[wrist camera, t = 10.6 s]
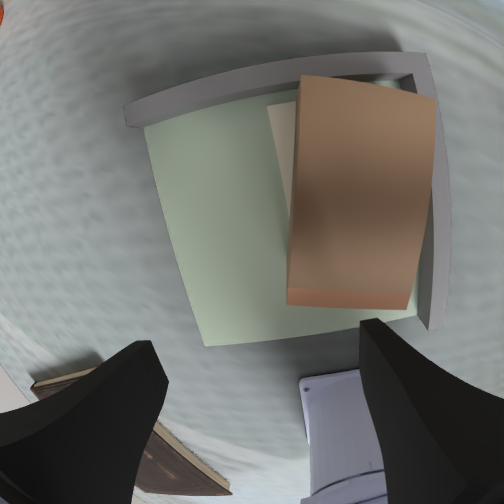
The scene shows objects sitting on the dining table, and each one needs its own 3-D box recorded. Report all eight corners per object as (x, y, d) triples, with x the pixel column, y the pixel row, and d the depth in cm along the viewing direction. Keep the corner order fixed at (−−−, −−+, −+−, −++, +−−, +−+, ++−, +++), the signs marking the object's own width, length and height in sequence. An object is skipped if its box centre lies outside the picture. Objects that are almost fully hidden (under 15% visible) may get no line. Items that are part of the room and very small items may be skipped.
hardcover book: (108, 357, 23) (97, 373, 21) (234, 481, 29) (232, 495, 27) (37, 378, 27) (28, 389, 25) (146, 481, 33) (142, 492, 31)
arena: (430, 308, 18) (443, 326, 15) (206, 343, 20) (198, 364, 18) (409, 63, 13) (426, 53, 10) (142, 109, 15) (122, 105, 13)
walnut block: (296, 98, 14) (301, 74, 9) (393, 111, 13) (435, 98, 9) (286, 261, 17) (286, 304, 12) (377, 267, 16) (406, 310, 12)
